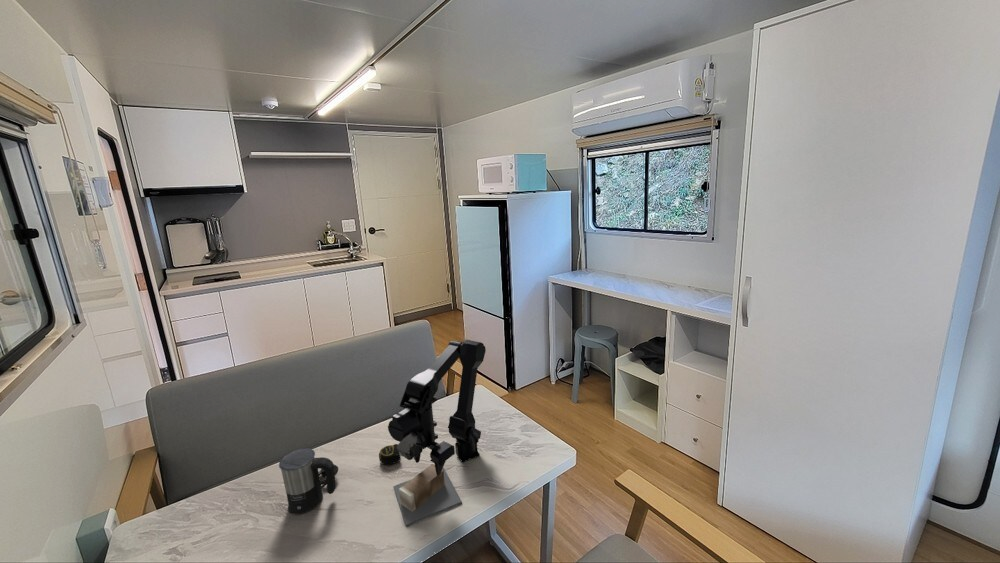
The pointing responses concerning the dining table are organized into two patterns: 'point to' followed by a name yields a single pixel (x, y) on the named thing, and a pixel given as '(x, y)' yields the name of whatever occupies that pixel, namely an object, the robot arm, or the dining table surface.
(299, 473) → the milk frother
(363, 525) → the dining table surface
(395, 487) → the charcoal mat
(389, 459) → the tape measure
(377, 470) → the dining table surface
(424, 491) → the wooden block
